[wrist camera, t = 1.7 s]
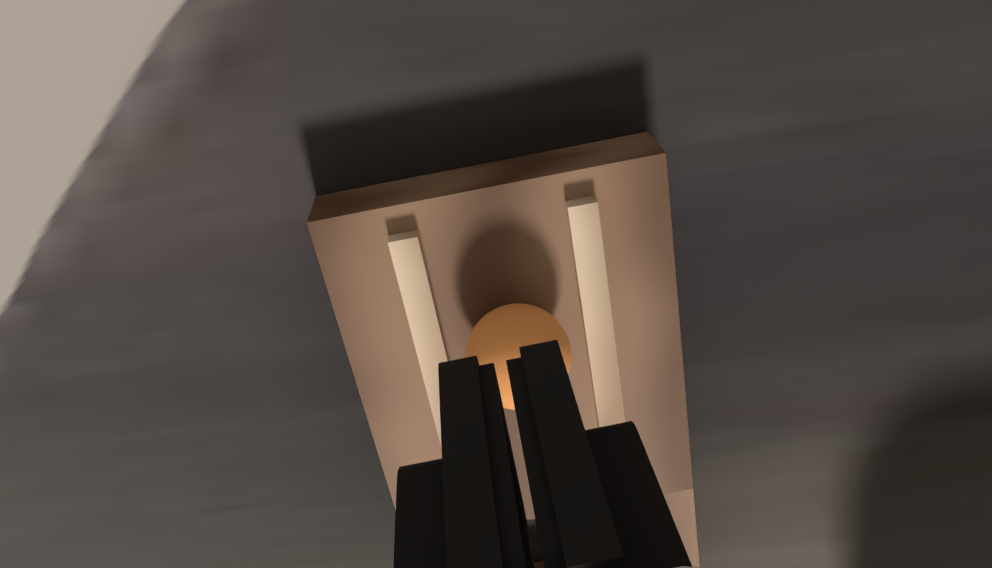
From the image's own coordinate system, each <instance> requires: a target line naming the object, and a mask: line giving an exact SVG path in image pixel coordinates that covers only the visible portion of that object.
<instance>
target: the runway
mask: <svg viewBox="0 0 992 568" xmlns="http://www.w3.org/2000/svg"><path fill="white" fill-rule="evenodd" d="M307 225H308V228H309V232H310V235H311V238H312V241H313V245H314V248H315V251H316V254H317V258H318V261H319V264H320V267H321V270H322V274H323V277H324V280H325V283H326V287H327V290H328V293H329V296H330V300H331V303H332V306H333V309H334V312H335V316H336V319H337V322H338V325H339V329H340V332H341V335H342V338H343V342H344V345H345V348H346V351H347V355H348V358H349V361H350V364H351V367H352V371H353V374H354V377H355V380H356V384H357V387H358V390H359V393H360V397H361V400H362V403H363V406H364V409H365V413H366V416H367V419H368V422H369V426H370V429H371V432H372V435H373V439H374V442H375V445H376V448H377V452H378V455H379V458H380V461H381V464H382V468H383V471H384V474H385V477H386V481H387V484H388V487H389V490H390V494H391V497H392V500H393V503H394V506H395V510H396V488H397V473H398V469H399V467H401V466H406V465H411V464H416V463H421V462H426V461H432V460H437V459H442V447H441V423H440V399H439V375H438V364H439V363H441V362H446V361H451V360H456V359H461V358H465V354H466V346H467V342H468V339H469V336H470V334H471V332H472V330H473V328H474V327H475V325H476V324H477V323H478V322H479V320H480V319H481V318H482V317H484V316H485V315H486V314H487V313H489V312H490V311H492V310H494V309H496V308H498V307H501V306H504V305H508V304H515V303H521V304H529V305H533V306H536V307H539V308H541V309H543V310H545V311H546V312H548V313H549V314H551V315H552V316H553V317H554V318H555V319H557V321H558V322H559V323H560V324H561V326H562V327H563V329H564V330H565V332H566V334H567V336H568V339H569V342H570V346H571V354H572V359H571V368H570V372H569V375H568V376H569V379H570V382H571V386H572V389H573V392H574V395H575V399H576V402H577V405H578V408H579V412H580V415H581V418H582V421H583V425H584V428H585V430H588V429H594V428H599V427H604V426H609V425H614V424H619V423H624V422H629V421H632V422H633V423H634V424H635V426H636V428H637V430H638V433H639V435H640V438H641V440H642V443H643V445H644V447H645V450H646V452H647V455H648V457H649V460H650V462H651V465H652V467H653V470H654V472H655V475H656V477H657V480H658V482H659V485H660V487H661V490H662V492H663V495H664V497H665V500H666V502H667V505H668V507H669V510H670V512H671V515H672V517H673V520H674V522H675V525H676V527H677V530H678V532H679V534H680V537H681V539H682V542H683V544H684V547H685V549H686V552H687V554H688V557H689V559H690V562H691V564H692V567H699V555H698V543H697V531H696V518H695V506H694V494H693V481H692V469H691V457H690V444H689V432H688V420H687V407H686V395H685V383H684V370H683V358H682V346H681V334H680V321H679V309H678V297H677V284H676V272H675V260H674V247H673V235H672V223H671V210H670V198H669V186H668V173H667V161H666V152H665V151H664V150H663V149H662V148H661V147H660V146H659V145H658V143H657V142H656V141H655V140H654V139H653V138H652V137H651V136H650V134H649V133H648V132H643V133H638V134H632V135H627V136H622V137H617V138H612V139H607V140H602V141H597V142H591V143H586V144H581V145H576V146H571V147H566V148H561V149H555V150H550V151H545V152H540V153H535V154H530V155H525V156H519V157H514V158H509V159H504V160H499V161H494V162H489V163H484V164H478V165H473V166H468V167H463V168H458V169H453V170H448V171H442V172H437V173H432V174H427V175H422V176H417V177H412V178H407V179H401V180H396V181H391V182H386V183H381V184H376V185H371V186H365V187H360V188H355V189H350V190H345V191H340V192H335V193H329V194H324V195H319V196H316V198H315V201H314V204H313V206H312V209H311V212H310V215H309V218H308V220H307ZM504 413H505V418H506V422H507V427H508V432H509V437H510V441H511V446H512V451H513V456H514V460H515V465H516V470H517V475H518V479H519V484H520V489H521V494H522V498H523V503H524V508H525V513H526V518H527V520H530V519H535V515H534V509H533V504H532V498H531V493H530V488H529V482H528V477H527V471H526V466H525V460H524V455H523V450H522V444H521V439H520V433H519V428H518V423H517V417H516V412H515V410H511V409H506V408H504ZM534 563H535V568H544V563H543V560H542V561H537V562H534Z"/></svg>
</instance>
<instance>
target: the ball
mask: <svg viewBox="0 0 992 568" xmlns="http://www.w3.org/2000/svg"><path fill="white" fill-rule="evenodd" d="M552 340H558V343H559V346H560V350H561V353H562V356H563V359H564V363H565V366H566V369H567V373H568V375H569V372H570V368H571V359H572V354H571V346H570V342H569V339H568V336H567V334H566V332H565V330H564V329H563V327H562V326H561V324H560V323H559V322H558V321H557V319H555V318H554V317H553V316H552V315H551V314H549V313H548V312H546V311H545V310H543V309H541V308H539V307H536V306H533V305H529V304H521V303H515V304H508V305H504V306H501V307H498V308H496V309H494V310H492V311H490V312H489V313H487V314H486V315H485V316H484V317H482V318H481V319H480V320H479V322H478V323H477V324H476V325H475V327H474V328H473V330H472V332H471V334H470V336H469V339H468V342H467V346H466V354H465V358H466V357H471V356H476V355H477V358H478V362H479V365H484V364H489V363H494V366H495V370H496V375H497V380H498V385H499V389H500V394H501V399H502V403H503V408H506V409H511V410H515V406H514V401H513V396H512V390H511V385H510V379H509V374H508V369H507V363H506V360H510V359H515V358H520V357H521V355H520V350H519V347H522V346H527V345H532V344H537V343H542V342H547V341H552Z"/></svg>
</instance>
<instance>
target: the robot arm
mask: <svg viewBox="0 0 992 568" xmlns="http://www.w3.org/2000/svg"><path fill="white" fill-rule="evenodd" d="M519 350H520V355H521V357H520V358H515V359H510V360H506V363H507V369H508V374H509V379H510V385H511V390H512V396H513V401H514V406H515V412H516V417H517V423H518V428H519V433H520V439H521V444H522V450H523V455H524V460H525V466H526V471H527V477H528V482H529V488H530V493H531V498H532V504H533V509H534V515H535V520H536V525H537V531H538V536H539V542H540V547H541V552H542V558H543V563H544V568H704V567H692V564H691V562H690V559H689V557H688V554H687V552H686V549H685V547H684V544H683V542H682V539H681V537H680V534H679V532H678V530H677V527H676V525H675V522H674V520H673V517H672V515H671V512H670V510H669V507H668V505H667V502H666V500H665V497H664V495H663V492H662V490H661V487H660V485H659V482H658V480H657V477H656V475H655V472H654V470H653V467H652V465H651V462H650V460H649V457H648V455H647V452H646V450H645V447H644V445H643V443H642V440H641V438H640V435H639V433H638V430H637V428H636V426H635V424H634V423H633V422H632V421H629V422H624V423H619V424H614V425H609V426H604V427H599V428H594V429H588V430H585V428H584V425H583V421H582V418H581V415H580V412H579V408H578V405H577V402H576V399H575V395H574V392H573V389H572V386H571V382H570V379H569V376H568V373H567V369H566V366H565V363H564V359H563V356H562V353H561V350H560V346H559V343H558V340H552V341H547V342H542V343H537V344H532V345H527V346H522V347H519ZM438 375H439V399H440V423H441V447H442V459H437V460H432V461H426V462H421V463H416V464H411V465H406V466H401V467H399V469H398V473H397V488H396V516H395V544H394V568H535V563H534V557H533V552H532V546H531V540H530V534H529V529H528V523H527V518H526V513H525V508H524V503H523V498H522V494H521V489H520V484H519V479H518V475H517V470H516V465H515V460H514V456H513V451H512V446H511V441H510V437H509V432H508V427H507V422H506V418H505V413H504V408H503V403H502V399H501V394H500V389H499V385H498V380H497V375H496V370H495V366H494V363H489V364H484V365H479V362H478V358H477V355H476V356H471V357H466V358H461V359H456V360H451V361H446V362H441V363H439V364H438Z"/></svg>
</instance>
